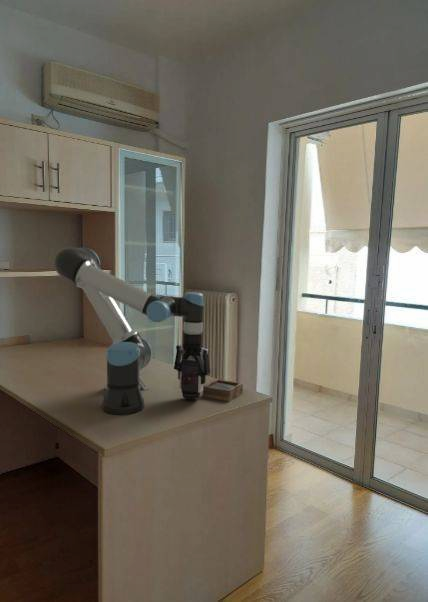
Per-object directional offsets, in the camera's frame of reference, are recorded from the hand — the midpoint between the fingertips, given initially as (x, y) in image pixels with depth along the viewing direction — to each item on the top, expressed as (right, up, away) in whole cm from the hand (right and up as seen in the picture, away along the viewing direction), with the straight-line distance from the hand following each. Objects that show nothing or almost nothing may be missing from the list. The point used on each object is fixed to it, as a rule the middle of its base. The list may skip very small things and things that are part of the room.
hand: (191, 389), depth 174 cm
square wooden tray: (+13, -3, +7) cm, 15 cm away
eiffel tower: (-28, -2, +13) cm, 31 cm away
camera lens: (0, -3, 0) cm, 3 cm away
